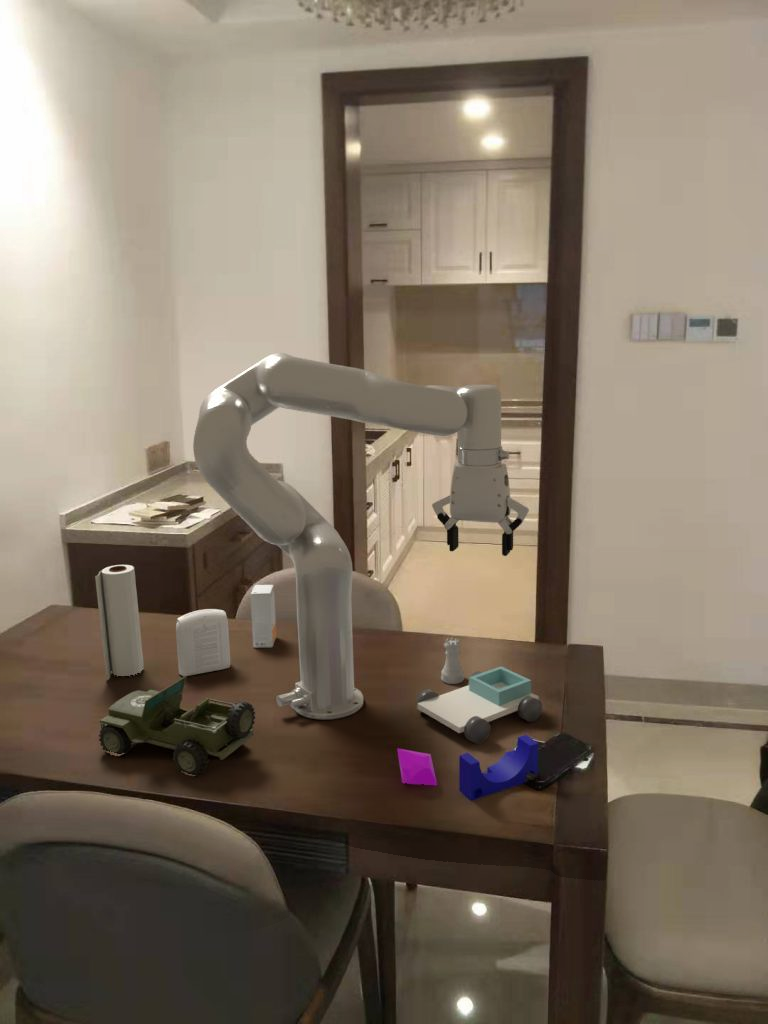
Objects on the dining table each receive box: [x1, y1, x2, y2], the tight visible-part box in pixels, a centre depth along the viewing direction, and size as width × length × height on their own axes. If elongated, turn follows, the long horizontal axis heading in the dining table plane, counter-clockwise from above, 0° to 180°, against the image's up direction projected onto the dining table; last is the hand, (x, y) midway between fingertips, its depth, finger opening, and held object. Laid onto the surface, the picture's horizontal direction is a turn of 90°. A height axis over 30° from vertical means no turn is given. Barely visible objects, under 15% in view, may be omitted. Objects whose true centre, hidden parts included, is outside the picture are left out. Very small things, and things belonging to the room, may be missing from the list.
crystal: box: [396, 748, 438, 786], centre depth 131 cm, size 5×5×5 cm
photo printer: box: [175, 608, 231, 677], centre depth 171 cm, size 10×4×12 cm, turn 116°
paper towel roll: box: [94, 564, 145, 680], centre depth 170 cm, size 7×6×21 cm
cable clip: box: [458, 734, 539, 802], centre depth 130 cm, size 12×4×6 cm, turn 118°
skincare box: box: [249, 584, 277, 649], centre depth 184 cm, size 6×4×12 cm
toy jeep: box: [98, 676, 256, 777], centre depth 141 cm, size 12×25×11 cm, turn 64°
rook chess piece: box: [440, 637, 465, 685], centre depth 165 cm, size 4×4×8 cm
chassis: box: [415, 666, 543, 745], centre depth 151 cm, size 18×15×6 cm
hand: (479, 551), depth 156 cm, fingers open, 9 cm apart
